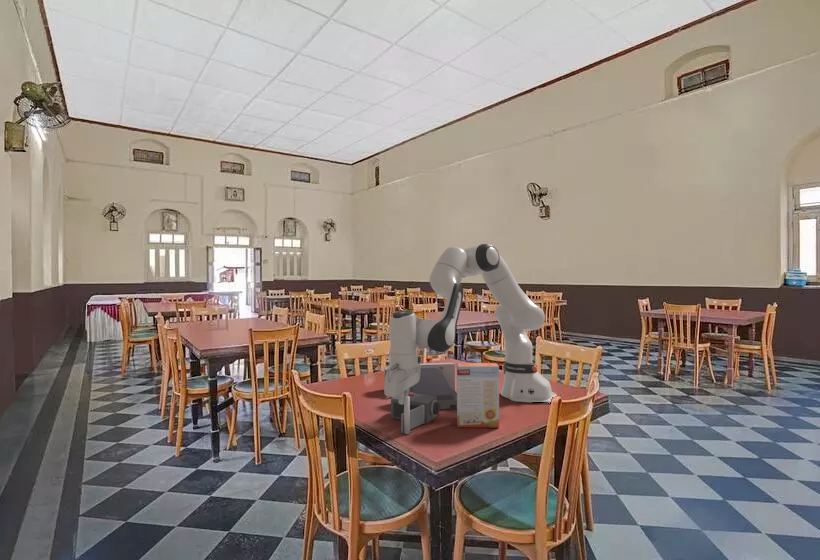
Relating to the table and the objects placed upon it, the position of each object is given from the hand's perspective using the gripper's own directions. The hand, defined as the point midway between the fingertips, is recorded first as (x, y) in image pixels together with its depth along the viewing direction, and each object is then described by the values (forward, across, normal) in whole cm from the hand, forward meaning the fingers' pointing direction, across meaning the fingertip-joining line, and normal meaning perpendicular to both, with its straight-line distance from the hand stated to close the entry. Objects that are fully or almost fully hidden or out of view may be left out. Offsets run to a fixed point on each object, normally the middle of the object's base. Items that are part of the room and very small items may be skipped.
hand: (402, 403), depth 142 cm
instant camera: (+10, +33, +3) cm, 35 cm away
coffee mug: (+10, +40, +22) cm, 46 cm away
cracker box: (+10, +16, -20) cm, 28 cm away
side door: (+9, +4, -2) cm, 11 cm away
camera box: (+10, +15, +3) cm, 18 cm away
